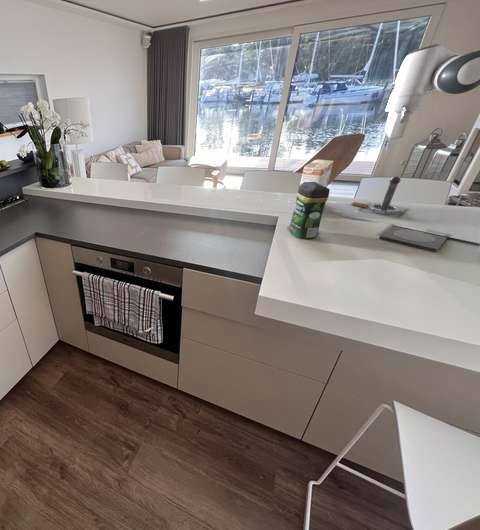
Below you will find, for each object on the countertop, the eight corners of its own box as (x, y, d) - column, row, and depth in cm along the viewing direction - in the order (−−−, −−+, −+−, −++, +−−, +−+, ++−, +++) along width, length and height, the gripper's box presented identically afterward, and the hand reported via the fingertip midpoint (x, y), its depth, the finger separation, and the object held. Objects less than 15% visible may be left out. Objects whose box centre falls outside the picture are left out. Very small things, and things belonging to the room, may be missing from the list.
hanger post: (406, 212, 114) (422, 175, 107) (396, 220, 108) (412, 182, 101) (369, 205, 123) (382, 171, 115) (358, 213, 117) (371, 177, 110)
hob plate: (447, 238, 94) (448, 235, 94) (435, 252, 87) (437, 249, 87) (393, 226, 104) (394, 224, 104) (379, 238, 98) (380, 235, 97)
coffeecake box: (304, 203, 131) (315, 159, 121) (322, 206, 127) (335, 160, 117) (292, 213, 123) (303, 166, 113) (311, 216, 118) (324, 167, 108)
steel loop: (402, 210, 114) (403, 206, 113) (393, 216, 109) (395, 213, 109) (356, 202, 125) (357, 199, 124) (347, 207, 120) (348, 204, 120)
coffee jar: (284, 229, 110) (295, 180, 100) (306, 228, 109) (319, 179, 99) (296, 240, 101) (310, 188, 92) (320, 239, 100) (336, 186, 91)
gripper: (420, 106, 89) (401, 153, 96) (412, 102, 103) (396, 144, 110) (393, 107, 92) (377, 153, 99) (389, 103, 106) (375, 143, 113)
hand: (387, 148), depth 104 cm, fingers open, 8 cm apart
